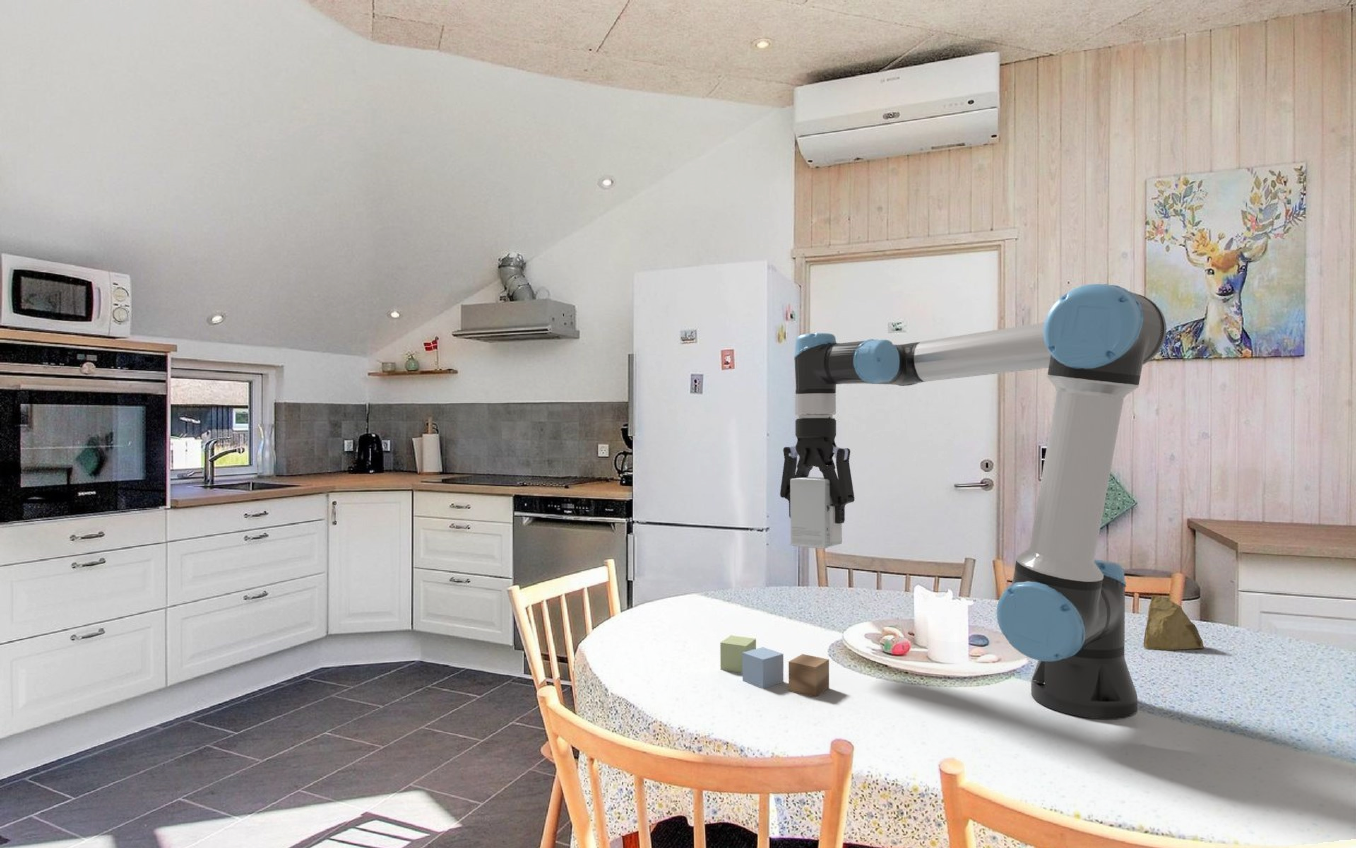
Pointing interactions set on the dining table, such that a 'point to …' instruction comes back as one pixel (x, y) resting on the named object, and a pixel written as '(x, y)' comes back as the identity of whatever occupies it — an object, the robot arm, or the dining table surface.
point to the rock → (1169, 627)
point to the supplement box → (810, 512)
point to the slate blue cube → (762, 667)
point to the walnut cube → (809, 675)
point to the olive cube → (735, 652)
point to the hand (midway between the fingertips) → (816, 538)
